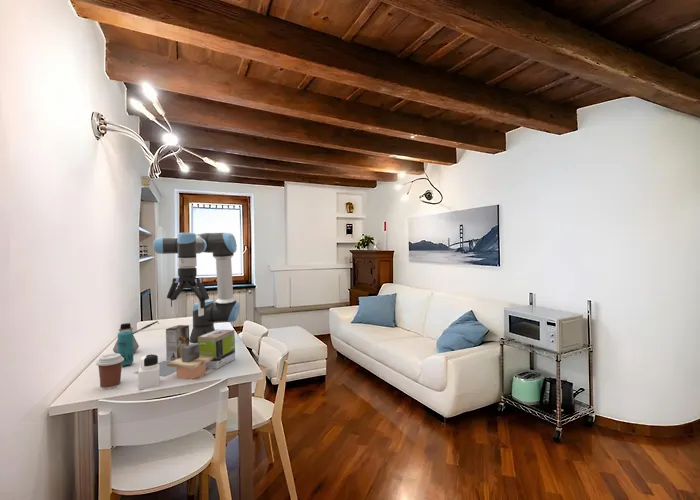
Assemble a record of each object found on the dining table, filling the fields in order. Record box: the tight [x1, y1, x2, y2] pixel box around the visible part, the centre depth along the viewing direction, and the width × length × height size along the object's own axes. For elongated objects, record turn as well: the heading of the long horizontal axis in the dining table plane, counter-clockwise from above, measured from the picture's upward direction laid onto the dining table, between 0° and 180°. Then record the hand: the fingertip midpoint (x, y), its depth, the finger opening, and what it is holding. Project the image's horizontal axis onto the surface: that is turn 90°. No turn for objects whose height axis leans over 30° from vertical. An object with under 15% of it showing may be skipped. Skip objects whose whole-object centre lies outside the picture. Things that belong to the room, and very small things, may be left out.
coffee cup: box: [95, 352, 124, 390], centre depth 138 cm, size 9×9×12 cm
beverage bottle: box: [117, 322, 134, 366], centre depth 161 cm, size 6×7×20 cm
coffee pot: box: [112, 320, 160, 354], centre depth 185 cm, size 21×12×15 cm, turn 130°
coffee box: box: [165, 324, 190, 362], centre depth 171 cm, size 9×6×16 cm
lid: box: [167, 342, 214, 369], centre depth 149 cm, size 13×13×7 cm
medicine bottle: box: [137, 353, 161, 391], centre depth 137 cm, size 7×7×12 cm
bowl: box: [176, 363, 207, 380], centre depth 149 cm, size 11×11×6 cm
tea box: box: [197, 329, 236, 370], centre depth 164 cm, size 15×10×15 cm, turn 165°
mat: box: [133, 360, 177, 378], centre depth 156 cm, size 17×17×1 cm
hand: (188, 315), depth 154 cm, fingers open, 13 cm apart
